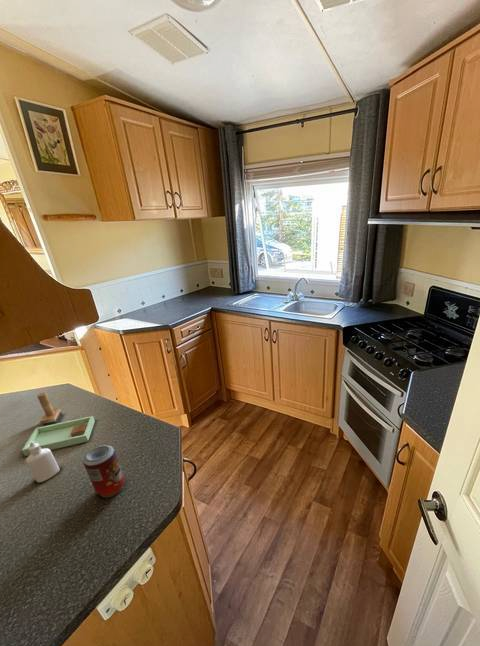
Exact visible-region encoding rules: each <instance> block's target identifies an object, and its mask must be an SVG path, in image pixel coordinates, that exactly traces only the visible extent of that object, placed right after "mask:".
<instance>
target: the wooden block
mask: <svg viewBox="0 0 480 646" xmlns="http://www.w3.org/2000/svg"><path fill="white" fill-rule="evenodd" d="M86 427H87V424H83V425H78V426H74V427H73V429H72V431H71V436H72V437H74V436H79V435H83V434H84V433H85V430H86Z"/></svg>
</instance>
